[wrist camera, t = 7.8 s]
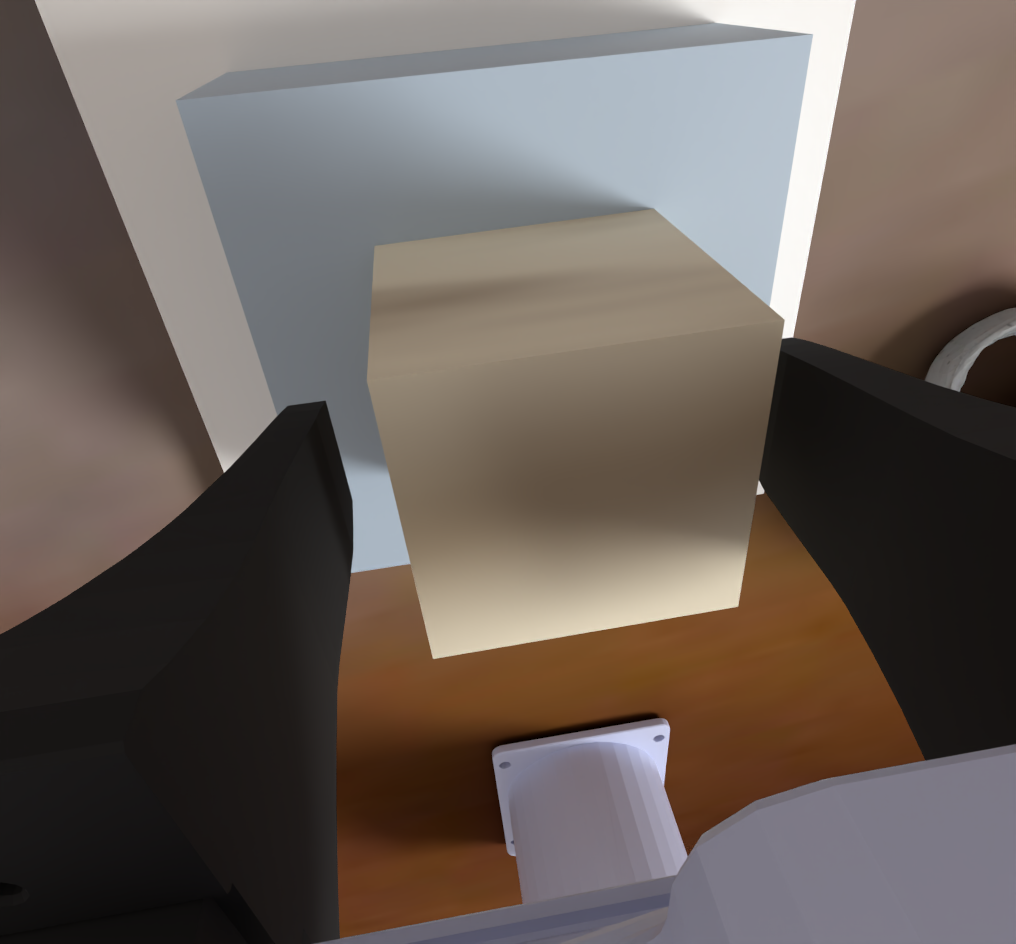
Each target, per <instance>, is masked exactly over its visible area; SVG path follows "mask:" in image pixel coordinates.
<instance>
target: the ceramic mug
mask: <svg viewBox="0 0 1016 944" xmlns="http://www.w3.org/2000/svg"><path fill="white" fill-rule="evenodd" d="M1012 335H1015V336H1016V308H1011V309H1006V310H1004V311H1001V312H998V313H996V314H993V315H991V316H989V317H987V318H985V319H983V320H981V321H979V322H977V323H975V324H974V325H972V326H971V327H969V328H968V329H966V330H965V331H963V332H962V333H960V334H959V335H957V336H956V337H955V338H953V339H952V340H951V341H950V342H949V343H948V344H947V345H946V346H945V347H944V348H943V350H942V351H941V352H940V353H939V354H938V355H937V357H936V358H935V360H934V361H933V363H932V364H931V366H930V368H929V371H928V373H927V375H926V378H925V380H924V381H927V382H930V383H933V384H936V385H939V386H942V387H945V388H949V389H952V390H955V391H959V392H960V389H961V387H962V386H963V384H964V382H965V380H966V376H967V372H968V370H969V369H970V368H971V366H972V365H973V363H974V361H975V360H976V358H977V357H978V355H979V354H980V352H981V351H982V350H983V349H984V348H986V347H987V346H989V345H991V344H992V343H994V342H995V341H997V340H999V339H1003V338H1006V337H1009V336H1012Z"/></svg>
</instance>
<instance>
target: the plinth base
mask: <svg viewBox="0 0 1016 944" xmlns="http://www.w3.org/2000/svg"><path fill="white" fill-rule="evenodd" d="M35 2H36V5H37V7H38V10H39V12H40V15H41V17H42V20H43V22H44V25H45V27H46V30H47V32H48V35H49V37H50V40H51V42H52V45H53V47H54V50H55V52H56V55H57V57H58V60H59V62H60V65H61V67H62V70H63V72H64V75H65V77H66V80H67V82H68V85H69V87H70V90H71V92H72V95H73V97H74V100H75V102H76V105H77V107H78V110H79V112H80V115H81V117H82V120H83V122H84V125H85V127H86V130H87V132H88V135H89V137H90V140H91V142H92V145H93V147H94V150H95V152H96V155H97V157H98V160H99V162H100V165H101V167H102V170H103V172H104V175H105V177H106V180H107V182H108V185H109V187H110V190H111V192H112V195H113V197H114V200H115V202H116V205H117V207H118V210H119V212H120V214H121V217H122V219H123V222H124V224H125V227H126V229H127V232H128V234H129V237H130V239H131V242H132V244H133V247H134V249H135V252H136V254H137V257H138V259H139V262H140V264H141V267H142V269H143V272H144V274H145V277H146V279H147V282H148V284H149V287H150V289H151V292H152V294H153V297H154V299H155V302H156V304H157V307H158V309H159V312H160V314H161V317H162V319H163V322H164V324H165V327H166V329H167V332H168V334H169V337H170V339H171V342H172V344H173V347H174V349H175V352H176V354H177V357H178V359H179V362H180V364H181V367H182V369H183V372H184V374H185V377H186V379H187V382H188V384H189V387H190V389H191V392H192V394H193V397H194V399H195V402H196V404H197V407H198V409H199V412H200V414H201V417H202V419H203V422H204V424H205V427H206V429H207V431H208V434H209V436H210V439H211V441H212V444H213V446H214V449H215V451H216V454H217V456H218V459H219V461H220V464H221V466H222V469H223V471H224V473H225V472H226V471H227V470H228V469H229V468H230V467H231V465H232V464H233V463H234V462H235V461H236V460H237V459H238V458H239V457H240V456H241V455H242V454H243V453H244V452H245V451H246V449H247V448H248V447H249V446H250V445H251V444H252V443H253V442H254V441H255V440H256V439H257V438H258V437H259V435H260V434H261V433H262V432H263V431H264V430H265V429H266V428H267V427H268V425H269V424H270V423H271V422H272V421H273V420H274V419H275V418H276V417H277V416H278V415H279V414H280V413H281V412H282V411H283V410H284V409H285V408H286V407H287V406H289V405H297V404H304V403H311V402H319V401H326V403H327V407H328V411H329V414H330V418H331V422H332V426H333V429H334V433H335V437H336V440H337V444H338V448H339V451H340V455H341V459H342V463H343V466H344V470H345V474H346V477H347V481H348V485H349V489H350V492H351V496H352V500H353V559H352V568H351V573H353V572H360V571H366V570H373V569H379V568H386V567H392V566H399V565H405V564H410V560H409V555H408V551H407V547H406V543H405V539H404V534H403V530H402V526H401V522H400V518H399V514H398V509H397V505H396V501H395V497H394V493H393V488H392V484H391V480H390V476H389V472H388V467H387V463H386V459H385V455H384V451H383V446H382V442H381V438H380V434H379V430H378V426H377V421H376V417H375V413H374V409H373V405H372V400H371V396H370V392H369V388H368V384H367V368H368V351H369V333H370V316H371V298H372V281H373V263H374V246H377V245H385V244H392V243H400V242H407V241H415V240H422V239H430V238H437V237H445V236H452V235H460V234H467V233H475V232H482V231H490V230H497V229H505V228H512V227H520V226H528V225H535V224H543V223H550V222H558V221H565V220H573V219H580V218H588V217H595V216H603V215H610V214H618V213H625V212H633V211H640V210H648V209H655V210H656V211H657V212H658V213H660V214H661V215H662V216H663V217H664V218H666V219H667V220H668V221H669V222H670V223H671V224H673V225H674V226H675V227H676V228H677V229H678V230H680V231H681V232H682V233H683V234H684V235H686V236H687V237H688V238H689V239H690V240H691V241H693V242H694V243H695V244H696V245H697V246H699V247H700V248H701V249H702V250H703V251H704V252H706V253H707V254H708V255H709V256H710V257H711V258H713V259H714V260H715V261H716V262H717V263H719V264H720V265H721V266H722V267H723V268H724V269H726V270H727V271H728V272H729V273H730V274H731V275H733V276H734V277H735V278H736V279H737V280H739V281H740V282H741V283H742V284H743V285H744V286H746V287H747V288H748V289H749V290H750V291H751V292H753V293H754V294H755V295H756V296H757V297H759V298H760V299H761V300H762V301H763V302H764V303H766V304H767V305H768V306H769V307H770V308H772V309H773V310H774V311H775V312H776V313H777V314H779V315H780V316H781V317H782V318H783V319H784V320H785V322H784V329H783V335H782V339H783V338H791V337H792V338H793V335H794V329H795V324H796V318H797V313H798V308H799V302H800V297H801V292H802V286H803V281H804V275H805V270H806V265H807V259H808V254H809V249H810V243H811V238H812V233H813V227H814V222H815V216H816V211H817V206H818V200H819V195H820V190H821V184H822V179H823V174H824V168H825V163H826V157H827V152H828V147H829V141H830V136H831V131H832V125H833V120H834V114H835V109H836V104H837V98H838V93H839V88H840V82H841V77H842V72H843V66H844V61H845V55H846V50H847V45H848V39H849V34H850V29H851V23H852V18H853V12H854V7H855V2H856V0H35ZM759 494H764V489H763V487H762V485H761V483H760V481H758V487H757V494H756V495H759Z"/></svg>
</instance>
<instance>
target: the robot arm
mask: <svg viewBox="0 0 1016 944" xmlns="http://www.w3.org/2000/svg"><path fill="white" fill-rule="evenodd" d="M759 481H760V483H761V485H762V487H763V489H764V490H765V492H766V493H767V495H768V496H769V498H770V499H771V501H772V502H773V503H774V505H775V506H776V508H777V509H778V510H779V512H780V513H781V515H782V516H783V517H784V519H785V520H786V522H787V523H788V525H789V526H790V527H791V529H792V530H793V531H794V533H795V534H796V536H797V537H798V538H799V540H800V541H801V542H802V544H803V545H804V547H805V548H806V549H807V551H808V552H809V553H810V555H811V556H812V558H813V559H814V560H815V562H816V563H817V564H818V566H819V567H820V569H821V570H822V571H823V573H824V574H825V575H826V577H827V578H828V580H829V581H830V582H831V584H832V585H833V587H834V588H835V590H836V591H837V593H838V594H839V596H840V597H841V599H842V600H843V602H844V604H845V605H846V607H847V608H848V610H849V612H850V614H851V616H852V617H853V619H854V621H855V623H856V624H857V626H858V628H859V630H860V632H861V633H862V635H863V637H864V639H865V640H866V642H867V644H868V646H869V648H870V649H871V651H872V653H873V655H874V657H875V659H876V661H877V663H878V664H879V666H880V668H881V670H882V672H883V674H884V676H885V678H886V680H887V682H888V684H889V686H890V688H891V690H892V692H893V693H894V695H895V697H896V699H897V701H898V703H899V705H900V707H901V709H902V711H903V713H904V715H905V718H906V720H907V722H908V724H909V726H910V728H911V730H912V732H913V734H914V737H915V739H916V741H917V743H918V745H919V747H920V749H921V751H922V754H923V756H924V758H925V760H926V761H921V762H916V763H910V764H905V765H899V766H894V767H889V768H883V769H878V770H872V771H867V772H861V773H856V774H850V775H845V776H839V777H834V778H828V779H823V780H820V781H817V782H814V783H811V784H807V785H804V786H801V787H798V788H795V789H792V790H788V791H785V792H782V793H779V794H776V795H773V796H769V797H766V798H763V799H760V800H757V801H754V802H753V803H751V804H750V805H748V806H746V807H745V808H743V809H742V810H740V811H739V812H737V813H735V814H734V815H732V816H731V817H729V818H727V819H726V820H724V821H723V822H721V823H720V824H718V825H716V826H715V827H713V828H712V829H710V830H708V831H707V832H705V833H704V834H702V836H701V837H700V839H699V840H698V842H697V843H696V845H695V846H694V848H693V850H692V851H691V853H690V854H689V856H687V853H686V850H685V847H684V844H683V841H682V839H681V836H680V833H679V830H678V827H677V824H676V821H675V818H674V815H673V812H672V809H671V806H670V803H669V800H668V798H667V795H666V792H665V789H664V779H665V770H666V761H667V752H668V743H669V734H670V727H669V724H668V721H667V720H666V719H663V718H655V719H650V720H644V721H638V722H632V723H627V724H621V725H615V726H609V727H604V728H598V729H592V730H586V731H580V732H575V733H569V734H563V735H557V736H552V737H546V738H540V739H534V740H529V741H523V742H517V743H511V744H505V745H501V746H498V747H496V748H495V749H494V750H493V751H492V759H493V765H494V771H495V778H496V784H497V790H498V796H499V803H500V809H501V815H502V821H503V827H504V834H505V840H506V846H507V852H508V854H510V855H512V856H516V860H517V867H518V874H519V881H520V888H521V895H522V901H523V904H520V905H515V906H509V907H504V908H499V909H494V910H488V911H483V912H478V913H472V914H467V915H462V916H457V917H451V918H446V919H441V920H436V921H430V922H425V923H420V924H415V925H409V926H404V927H399V928H394V929H388V930H383V931H378V932H373V933H367V934H362V935H357V936H351V937H346V938H341V939H340V936H339V907H338V873H337V814H336V737H337V686H338V674H339V662H340V654H341V647H342V639H343V631H344V623H345V615H346V608H347V600H348V592H349V584H350V576H351V568H352V559H353V500H352V496H351V492H350V489H349V485H348V481H347V477H346V474H345V470H344V466H343V463H342V459H341V455H340V451H339V448H338V444H337V440H336V437H335V433H334V429H333V426H332V422H331V418H330V414H329V411H328V407H327V403H326V401H319V402H311V403H304V404H297V405H289V406H287V407H286V408H285V409H284V410H283V411H282V412H281V413H280V414H279V415H278V416H277V417H276V418H275V419H274V420H273V421H272V422H271V423H270V424H269V425H268V427H267V428H266V429H265V430H264V431H263V432H262V433H261V434H260V435H259V437H258V438H257V439H256V440H255V441H254V442H253V443H252V444H251V445H250V446H249V447H248V448H247V449H246V451H245V452H244V453H243V454H242V455H241V456H240V457H239V458H238V459H237V460H236V461H235V462H234V463H233V464H232V465H231V467H230V468H229V469H228V470H227V471H226V472H225V473H224V474H223V475H222V476H220V477H219V478H218V479H217V480H216V481H215V482H214V483H213V484H212V485H211V486H210V487H209V488H208V489H207V490H206V491H205V492H204V493H203V494H202V495H201V496H199V497H198V498H197V499H196V500H195V501H194V502H193V503H192V504H191V505H190V506H189V507H188V508H187V509H186V510H185V511H183V512H182V513H181V514H180V515H179V516H178V517H177V518H175V519H174V520H173V521H172V522H171V523H169V524H168V525H167V526H166V527H165V528H163V529H162V530H161V531H160V532H158V533H157V534H156V535H154V536H153V537H152V538H150V539H149V540H148V541H147V542H145V543H144V544H143V545H141V546H140V547H139V548H138V549H136V550H135V551H134V552H132V553H131V554H129V555H128V556H127V557H125V558H124V559H123V560H121V561H119V562H118V563H116V564H115V565H113V566H112V567H110V568H109V569H107V570H106V571H104V572H103V573H101V574H100V575H98V576H97V577H95V578H94V579H92V580H91V581H89V582H88V583H86V584H85V585H83V586H82V587H80V588H79V589H77V590H76V591H74V592H73V593H71V594H70V595H68V596H67V597H65V598H63V599H62V600H60V601H58V602H57V603H55V604H53V605H52V606H50V607H48V608H47V609H45V610H43V611H41V612H40V613H38V614H36V615H35V616H33V617H31V618H29V619H28V620H26V621H24V622H22V623H21V624H19V625H17V626H15V627H13V628H11V629H10V630H8V631H6V632H4V633H2V634H0V944H1016V407H1011V406H1007V405H1004V404H1000V403H996V402H992V401H989V400H985V399H982V398H978V397H975V396H972V395H968V394H965V393H962V392H959V391H955V390H952V389H949V388H945V387H942V386H939V385H936V384H933V383H930V382H927V381H924V380H921V379H918V378H915V377H912V376H909V375H906V374H903V373H900V372H898V371H895V370H892V369H889V368H886V367H883V366H881V365H878V364H875V363H872V362H869V361H867V360H864V359H861V358H858V357H855V356H852V355H850V354H847V353H844V352H841V351H838V350H835V349H832V348H829V347H826V346H823V345H820V344H816V343H813V342H809V341H806V340H801V339H797V338H792V337H791V338H783V339H782V341H781V347H780V353H779V359H778V365H777V371H776V377H775V384H774V390H773V396H772V402H771V408H770V414H769V420H768V426H767V432H766V439H765V445H764V451H763V457H762V463H761V469H760V475H759Z"/></svg>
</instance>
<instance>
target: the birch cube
mask: <svg viewBox="0 0 1016 944" xmlns="http://www.w3.org/2000/svg"><path fill="white" fill-rule="evenodd" d="M784 322H785V320H784V319H783V318H782V317H781V316H780V315H779V314H777V313H776V312H775V311H774V310H773V309H772V308H770V307H769V306H768V305H767V304H766V303H764V302H763V301H762V300H761V299H760V298H759V297H757V296H756V295H755V294H754V293H753V292H751V291H750V290H749V289H748V288H747V287H746V286H744V285H743V284H742V283H741V282H740V281H739V280H737V279H736V278H735V277H734V276H733V275H731V274H730V273H729V272H728V271H727V270H726V269H724V268H723V267H722V266H721V265H720V264H719V263H717V262H716V261H715V260H714V259H713V258H711V257H710V256H709V255H708V254H707V253H706V252H704V251H703V250H702V249H701V248H700V247H699V246H697V245H696V244H695V243H694V242H693V241H691V240H690V239H689V238H688V237H687V236H686V235H684V234H683V233H682V232H681V231H680V230H678V229H677V228H676V227H675V226H674V225H673V224H671V223H670V222H669V221H668V220H667V219H666V218H664V217H663V216H662V215H661V214H660V213H658V212H657V211H656V210H655V209H648V210H640V211H633V212H625V213H618V214H610V215H603V216H595V217H588V218H580V219H573V220H565V221H558V222H550V223H543V224H535V225H528V226H520V227H512V228H505V229H497V230H490V231H482V232H475V233H467V234H460V235H452V236H445V237H437V238H430V239H422V240H415V241H407V242H400V243H392V244H385V245H377V246H374V263H373V281H372V298H371V316H370V333H369V351H368V368H367V384H368V388H369V392H370V396H371V400H372V405H373V409H374V413H375V417H376V421H377V426H378V430H379V434H380V438H381V442H382V446H383V451H384V455H385V459H386V463H387V467H388V472H389V476H390V480H391V484H392V488H393V493H394V497H395V501H396V505H397V509H398V514H399V518H400V522H401V526H402V530H403V534H404V539H405V543H406V547H407V551H408V555H409V560H410V564H411V568H412V572H413V576H414V581H415V585H416V589H417V593H418V597H419V602H420V606H421V610H422V614H423V618H424V623H425V627H426V631H427V635H428V639H429V643H430V648H431V652H432V656H433V659H436V658H441V657H447V656H453V655H459V654H465V653H470V652H476V651H482V650H488V649H494V648H500V647H505V646H511V645H517V644H523V643H529V642H535V641H540V640H546V639H552V638H558V637H564V636H570V635H575V634H581V633H587V632H593V631H599V630H605V629H610V628H616V627H622V626H628V625H634V624H640V623H645V622H651V621H657V620H663V619H669V618H675V617H680V616H686V615H692V614H698V613H704V612H710V611H715V610H721V609H727V608H733V607H738V603H739V597H740V591H741V585H742V579H743V573H744V567H745V561H746V555H747V549H748V542H749V536H750V530H751V524H752V518H753V512H754V506H755V500H756V494H757V487H758V481H759V475H760V469H761V463H762V457H763V451H764V445H765V439H766V432H767V426H768V420H769V414H770V408H771V402H772V396H773V390H774V384H775V377H776V371H777V365H778V359H779V353H780V347H781V341H782V335H783V329H784Z"/></svg>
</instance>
